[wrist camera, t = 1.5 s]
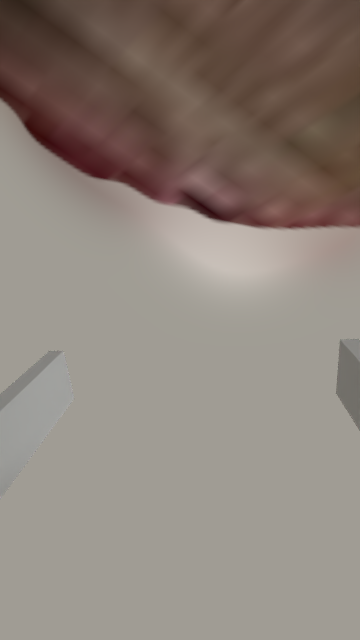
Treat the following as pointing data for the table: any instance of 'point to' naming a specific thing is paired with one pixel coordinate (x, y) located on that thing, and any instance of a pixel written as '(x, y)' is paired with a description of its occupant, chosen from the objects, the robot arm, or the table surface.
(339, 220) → the table surface
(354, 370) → the robot arm
